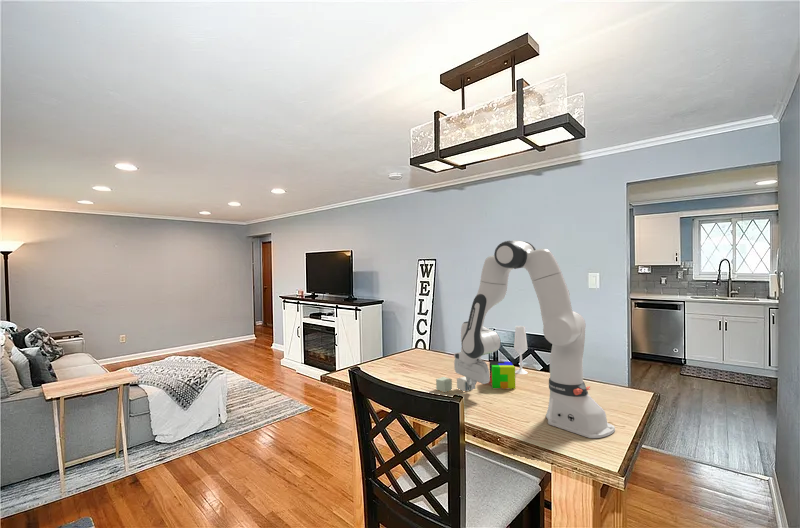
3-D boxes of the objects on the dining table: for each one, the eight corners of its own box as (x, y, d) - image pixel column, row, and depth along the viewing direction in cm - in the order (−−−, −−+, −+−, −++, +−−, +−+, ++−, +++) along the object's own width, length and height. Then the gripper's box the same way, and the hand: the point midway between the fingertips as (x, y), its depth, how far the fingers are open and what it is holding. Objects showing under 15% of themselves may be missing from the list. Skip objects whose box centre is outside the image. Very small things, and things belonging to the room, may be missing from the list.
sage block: (451, 390, 167) (451, 379, 167) (444, 392, 164) (444, 381, 164) (443, 387, 171) (443, 376, 171) (436, 390, 167) (436, 379, 167)
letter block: (472, 379, 166) (465, 376, 170) (463, 381, 163) (456, 378, 168) (472, 390, 166) (465, 387, 170) (464, 392, 163) (456, 389, 168)
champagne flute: (529, 371, 193) (528, 326, 193) (525, 374, 187) (525, 328, 187) (516, 369, 197) (515, 325, 197) (512, 373, 191) (511, 327, 191)
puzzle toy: (510, 382, 177) (510, 361, 177) (515, 389, 167) (515, 367, 167) (489, 381, 178) (489, 361, 178) (493, 388, 168) (492, 367, 168)
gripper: (492, 361, 155) (493, 393, 155) (462, 351, 173) (463, 380, 173) (481, 363, 152) (481, 396, 152) (451, 353, 170) (452, 382, 170)
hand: (471, 388), depth 162 cm, fingers closed
